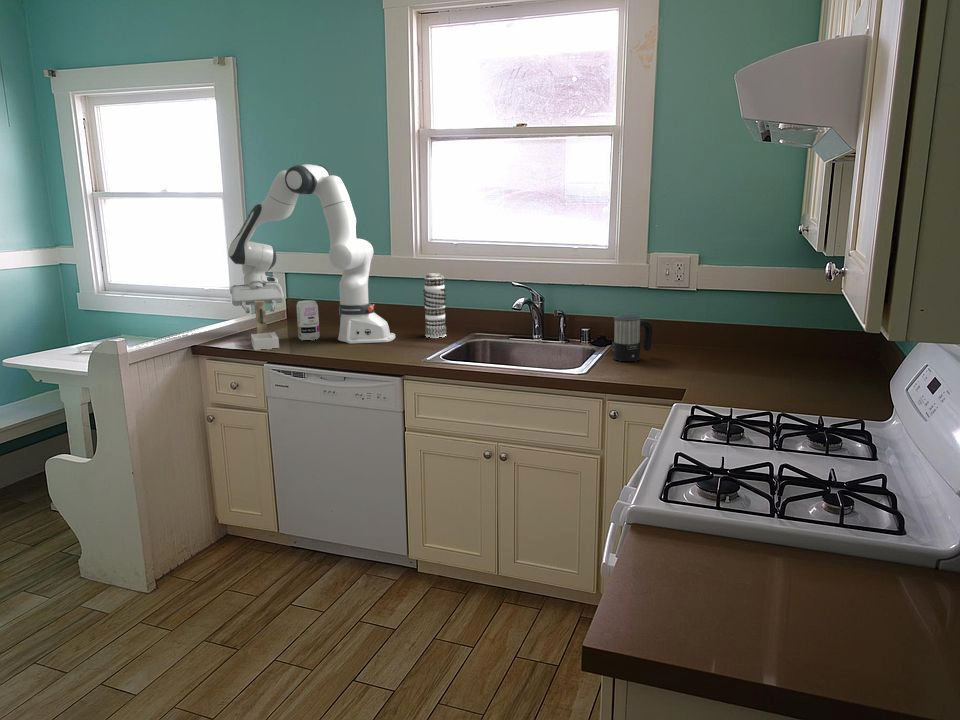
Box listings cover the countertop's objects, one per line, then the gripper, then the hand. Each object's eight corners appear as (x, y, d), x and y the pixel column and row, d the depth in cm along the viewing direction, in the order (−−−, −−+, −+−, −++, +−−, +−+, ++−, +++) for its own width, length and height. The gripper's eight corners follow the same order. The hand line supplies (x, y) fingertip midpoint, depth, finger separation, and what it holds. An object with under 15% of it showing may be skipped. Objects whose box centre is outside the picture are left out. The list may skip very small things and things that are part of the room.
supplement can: (308, 336, 306) (306, 299, 302) (324, 338, 301) (321, 300, 298) (294, 339, 299) (291, 302, 295) (309, 341, 295) (307, 303, 291)
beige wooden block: (266, 337, 304) (263, 300, 301) (267, 339, 300) (264, 302, 296) (257, 338, 303) (254, 301, 300) (258, 340, 299) (255, 303, 295)
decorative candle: (440, 332, 309) (438, 271, 303) (451, 336, 301) (450, 273, 295) (420, 335, 304) (418, 273, 298) (431, 339, 296) (429, 275, 291)
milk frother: (626, 364, 252) (627, 320, 249) (593, 355, 265) (594, 314, 261) (655, 358, 260) (657, 315, 257) (622, 350, 273) (623, 309, 269)
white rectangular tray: (251, 344, 291) (250, 334, 290) (275, 342, 294) (274, 332, 294) (254, 350, 280) (253, 340, 280) (279, 348, 284) (278, 337, 283)
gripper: (229, 280, 302) (232, 308, 295) (281, 278, 309) (286, 305, 302) (229, 290, 307) (233, 318, 300) (280, 287, 314) (285, 314, 307)
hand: (260, 311), depth 301 cm, fingers open, 8 cm apart
